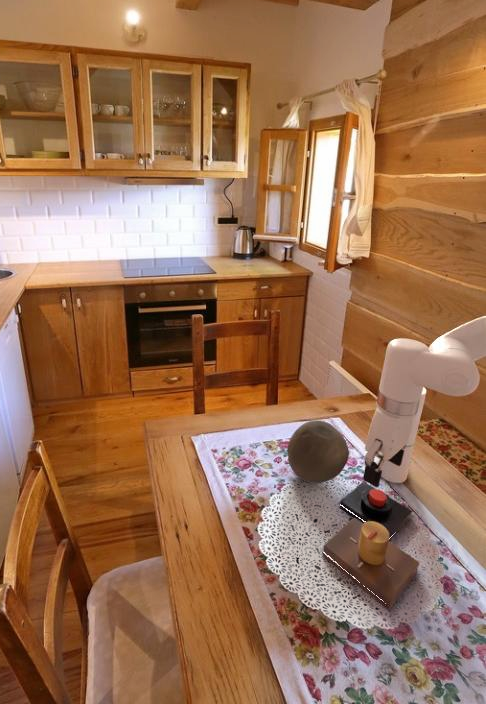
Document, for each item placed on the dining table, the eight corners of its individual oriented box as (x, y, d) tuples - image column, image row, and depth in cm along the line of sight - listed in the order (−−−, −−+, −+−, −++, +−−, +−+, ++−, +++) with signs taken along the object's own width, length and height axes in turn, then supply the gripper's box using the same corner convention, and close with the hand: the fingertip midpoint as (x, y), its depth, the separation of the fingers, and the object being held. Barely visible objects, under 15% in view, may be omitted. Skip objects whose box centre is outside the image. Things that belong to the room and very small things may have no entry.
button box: (410, 518, 91) (413, 504, 90) (388, 542, 85) (391, 528, 83) (362, 488, 99) (364, 475, 98) (338, 508, 93) (341, 494, 92)
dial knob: (365, 538, 82) (370, 515, 80) (389, 554, 78) (394, 531, 76) (352, 552, 79) (356, 529, 77) (376, 570, 75) (381, 546, 73)
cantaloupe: (296, 500, 95) (302, 447, 90) (278, 460, 108) (283, 412, 103) (352, 495, 97) (362, 442, 92) (328, 456, 110) (335, 408, 105)
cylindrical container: (408, 470, 106) (428, 385, 98) (404, 487, 100) (424, 398, 92) (380, 460, 109) (396, 377, 101) (374, 475, 104) (391, 389, 95)
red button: (388, 501, 91) (389, 495, 90) (380, 509, 88) (381, 503, 88) (373, 492, 93) (374, 486, 93) (365, 500, 91) (366, 493, 90)
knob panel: (416, 573, 78) (419, 561, 77) (388, 610, 71) (391, 598, 70) (352, 527, 88) (354, 516, 87) (322, 556, 81) (323, 544, 80)
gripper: (399, 380, 87) (384, 447, 93) (357, 408, 76) (344, 481, 82) (435, 394, 82) (417, 464, 88) (396, 426, 71) (379, 503, 77)
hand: (382, 472), depth 85 cm, fingers open, 9 cm apart
